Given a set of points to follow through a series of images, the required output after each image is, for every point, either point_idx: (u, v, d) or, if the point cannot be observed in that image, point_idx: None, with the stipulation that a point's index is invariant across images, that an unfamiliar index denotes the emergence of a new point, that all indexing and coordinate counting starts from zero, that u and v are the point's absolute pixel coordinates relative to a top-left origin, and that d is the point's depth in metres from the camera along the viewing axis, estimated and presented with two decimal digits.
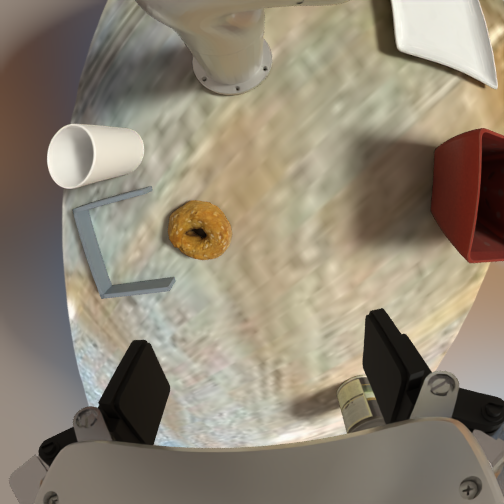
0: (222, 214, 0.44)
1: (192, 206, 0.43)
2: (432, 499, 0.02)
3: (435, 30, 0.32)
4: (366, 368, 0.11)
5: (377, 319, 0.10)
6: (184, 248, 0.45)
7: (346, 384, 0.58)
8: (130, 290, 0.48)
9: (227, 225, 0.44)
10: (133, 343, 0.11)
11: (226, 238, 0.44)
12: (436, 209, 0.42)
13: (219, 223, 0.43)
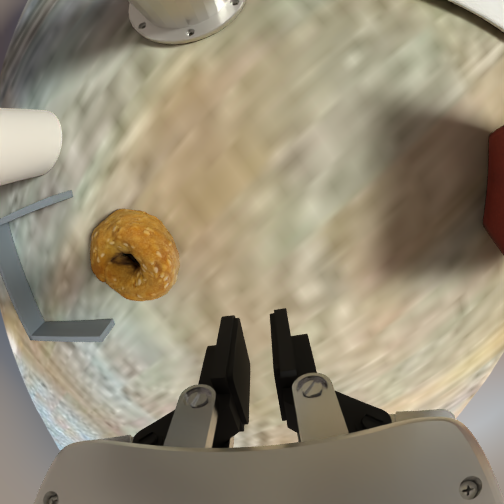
0: (160, 231, 0.26)
1: (116, 219, 0.25)
2: (432, 499, 0.02)
3: None
4: None
5: (275, 318, 0.11)
6: (110, 284, 0.27)
7: None
8: (58, 334, 0.30)
9: (168, 249, 0.26)
10: (224, 319, 0.12)
11: (168, 271, 0.26)
12: (494, 223, 0.24)
13: (154, 246, 0.25)
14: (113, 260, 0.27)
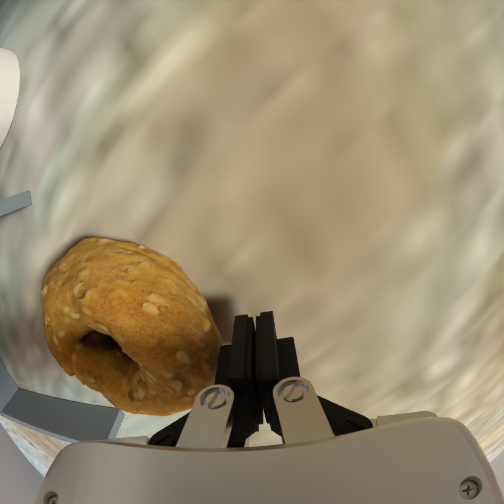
0: (184, 299, 0.11)
1: (78, 265, 0.10)
2: (432, 499, 0.02)
3: None
4: None
5: (261, 321, 0.11)
6: (84, 383, 0.12)
7: None
8: (37, 423, 0.15)
9: (204, 342, 0.11)
10: (237, 318, 0.11)
11: (205, 384, 0.11)
12: None
13: (171, 342, 0.10)
14: (85, 339, 0.12)
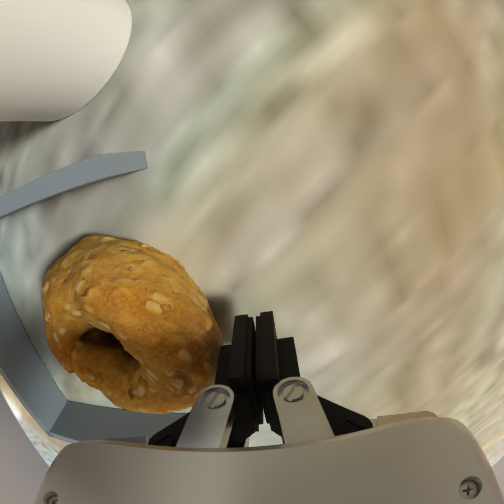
0: (186, 297, 0.11)
1: (81, 262, 0.10)
2: (432, 499, 0.02)
3: None
4: None
5: (261, 321, 0.11)
6: (83, 381, 0.12)
7: None
8: None
9: (206, 340, 0.11)
10: (237, 318, 0.11)
11: (205, 383, 0.11)
12: None
13: (174, 341, 0.10)
14: (85, 336, 0.13)
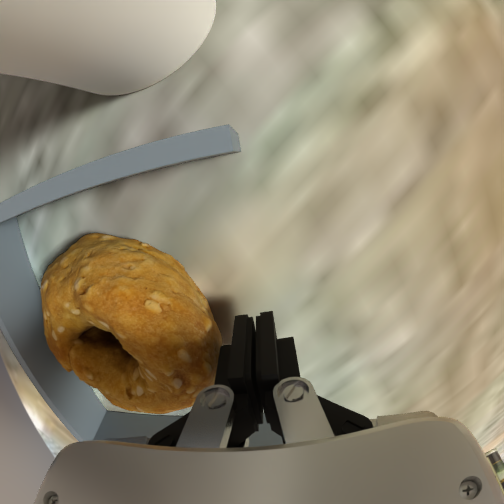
0: (186, 297, 0.11)
1: (81, 260, 0.10)
2: (432, 499, 0.02)
3: None
4: None
5: (261, 321, 0.11)
6: (82, 379, 0.12)
7: None
8: None
9: (205, 340, 0.11)
10: (237, 318, 0.11)
11: (204, 383, 0.11)
12: None
13: (173, 340, 0.10)
14: (84, 335, 0.12)
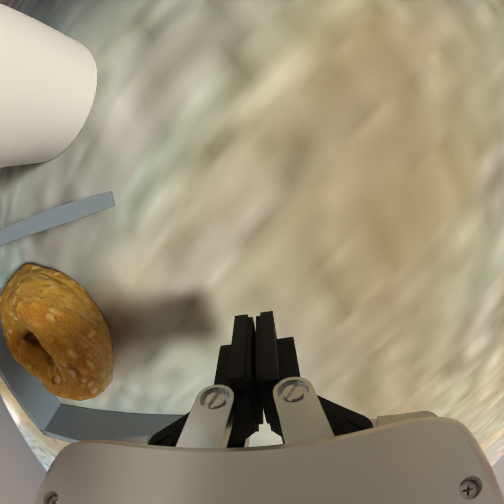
0: (75, 312, 0.13)
1: (16, 284, 0.13)
2: (432, 499, 0.02)
3: None
4: None
5: (261, 321, 0.11)
6: (26, 369, 0.14)
7: None
8: (93, 439, 0.16)
9: (87, 344, 0.13)
10: (237, 318, 0.11)
11: (91, 376, 0.13)
12: None
13: (63, 341, 0.12)
14: (28, 337, 0.15)
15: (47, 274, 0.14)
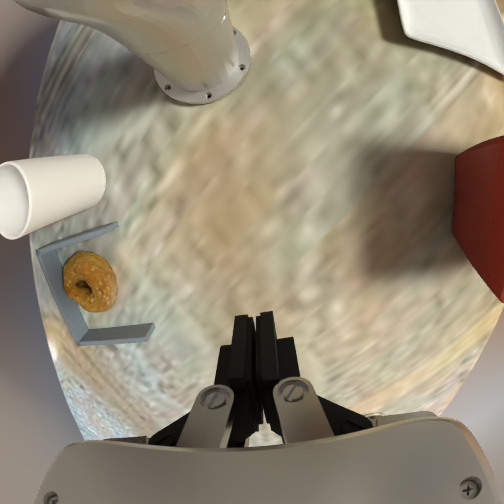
0: (102, 267, 0.37)
1: (76, 259, 0.36)
2: (432, 499, 0.02)
3: (445, 14, 0.24)
4: None
5: (261, 321, 0.11)
6: (75, 300, 0.38)
7: None
8: (105, 338, 0.40)
9: (107, 279, 0.37)
10: (237, 318, 0.11)
11: (107, 293, 0.37)
12: (459, 232, 0.33)
13: (97, 278, 0.36)
14: (77, 284, 0.38)
15: (89, 254, 0.37)
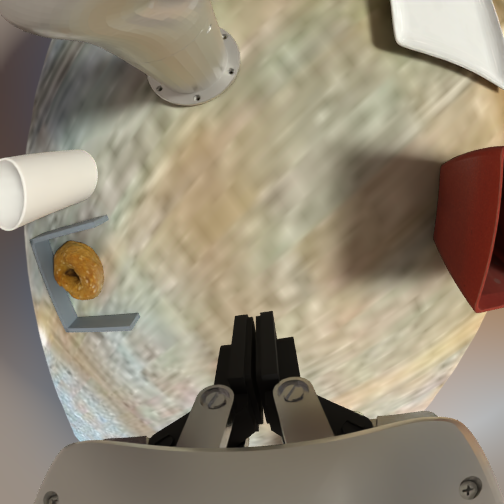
0: (90, 257, 0.38)
1: (65, 248, 0.37)
2: (432, 499, 0.02)
3: (441, 22, 0.25)
4: None
5: (261, 321, 0.11)
6: (64, 288, 0.39)
7: None
8: (93, 326, 0.41)
9: (93, 269, 0.38)
10: (237, 318, 0.11)
11: (94, 282, 0.38)
12: (440, 239, 0.35)
13: (84, 267, 0.37)
14: (66, 273, 0.39)
15: (78, 244, 0.38)
